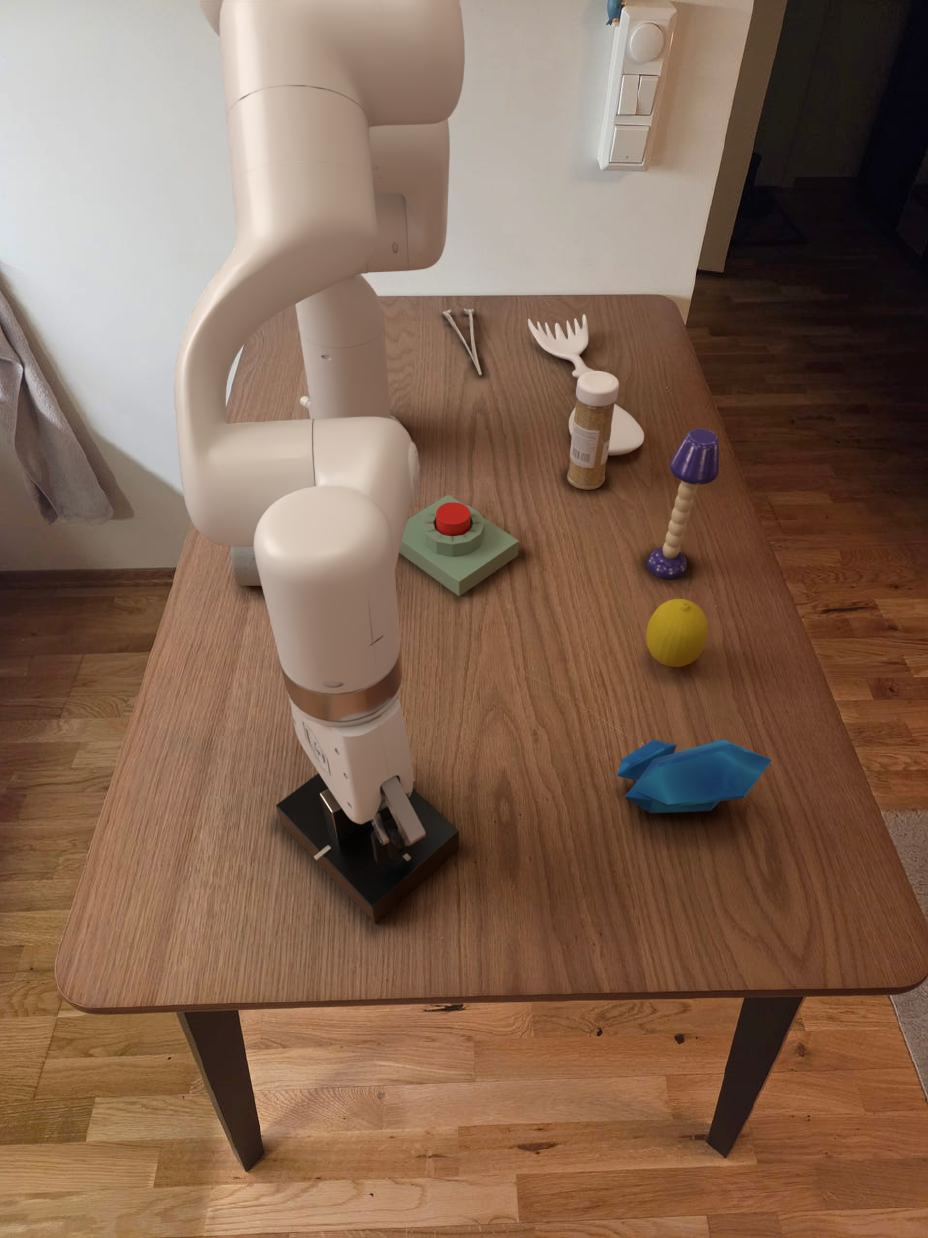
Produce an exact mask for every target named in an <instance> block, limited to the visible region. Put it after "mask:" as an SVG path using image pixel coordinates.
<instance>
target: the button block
mask: <svg viewBox="0 0 928 1238" xmlns="http://www.w3.org/2000/svg"><path fill="white" fill-rule="evenodd" d="M451 502H456V503H461V504H463V505H465V506H466V507H468V509H469V510H470V529H469V530H468V532H466V533H465V534H463V535H459V536H453V537H452V536H447V535H443V534H441V533H440V532H439V531H438V530H437V527H436V511H437V509H438V508H439V507H440V506H441V505H443V504H446V503H451ZM519 545H520V540H519V539H518V538H516V537H514V536H512V535H511V534H510V533H508V532H506V530H504V529H502V528H500V527H499V526H497V525H496V524H494V523H493V522H492V521H490V520H488V519H487V518H485V517H484V516H482V513H481V512H480V511H478V510H477V509H475V508H473V507H472V506H471V505H468V504H464V503H463V502H461V501H460V500H458V499H456V498H454V497H453V496H452V495H450V494H446V495H444V496H443V497H441V498H440V499H438V500H436V501H434V502H433V503H432V504H430V505H428V506H426V507H425V508H424V509H422V510H420V511H418V512H417V513H415V514H414V515H412V516H410V517H408V520H407V524H406V527H405V530H404V534H403V538H402V542H401V546H400V550H399V554H400V555H402V556H403V557H404V558H405V559H407V560H409V561H410V562H411V563H412V564H414V565H415V566H416V567H418V568H419V569H421V570H422V571H423V572H425V573H426V574H428V575H429V576H430V577H432V578H433V579H434V580H436V581H437V582H439V583H440V584H441V585H442V586H443V587H446V588H447V589H448V590H449V591H451V592H452V593H453V594H455V595H456V596H458V597H461V596H462V595H464V594H465V593H467V592H468V591H469V590H471V589H472V588H474V587H475V586H477V585H478V584H479V583H481V582H482V581H484V580H485V579H487V578H488V577H489V576H491V575H492V574H493V573H495V572H496V571H498V570H499V569H501V568H503V566H505V565H506V564H508V563H509V562H511V561H512V560H515V558H517V557H518V556H519Z"/></svg>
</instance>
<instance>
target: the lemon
mask: <svg viewBox="0 0 928 1238" xmlns="http://www.w3.org/2000/svg"><path fill="white" fill-rule="evenodd" d="M708 627H709V626H708V620H707V617H706V614H705V612H704V611H703V610H702V608H701V607H700V606H699V605H698V604H696V603H695V602H693V601H691V600H689V599H685V598H674V599H669V600H667V601H664V602H663V603H661V604H660V605H659V606H658V607H657V608H656V609H655V610H654V612H653V613H652V615H651V616H650V619H649V621H648V623H647V626H646V633H645V640H646V647H647V649H648V651H649V653H650V655H651V656H652V657H653V658H654V660H656V661H657V662H658V663H660V664H662V665H663V666H667V667H669V668H679V667H684V666H685V667H686V666H687V665H690V664H691V663H693V662H694V661H696V660H697V659H698V657H699V656H700V655H701V654H702V652H703V651H704V649H705V647H706V643H707V640H708V635H709V628H708Z"/></svg>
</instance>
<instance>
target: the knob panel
mask: <svg viewBox="0 0 928 1238" xmlns="http://www.w3.org/2000/svg"><path fill="white" fill-rule="evenodd" d="M415 781H416V779H415V777H413V783H414V782H415ZM327 789H329V788H328V786H327V785H326V783H325V782H324V780H323V779H322V777H321V776H320V774H319V773H318V772H317V773H316V774H315V775H314V776H312V777H311V778H310V779H309V780H307V781H305V782H304V783H303V784H302V785H301V786H299V787H298V788H297V789H295V790H294V791H293V792H291V793H290V794H289V795H287V796H286V797H285V798H283V799H282V800H280V801H279V802H278V803H276V805H275V808H276V811H277V815H278V818H279V821H280V824H281V826H282V827H283V828H284V829H285V830H286V831H287V832H288V833H289V834H290V835H291V836H292V838H293V839H295V841H296V842H297V843H298V844H299V845H300V846H301V847H302V848H303V849H304V850H305V851H306V852H307V854H308V855H309V856H310V857H311V858H312V859H313V860H314V861H315V862H316V863H317V864H318V865H319V866H320V867H321V868H322V869H323V871H324V872H326V874H327V875H328V876H329V877H330V878H331V879H332V880H333V881H334V883H336V884H337V886H338V887H339V888H340V889H341V890H342V891H343V892H344V893H345V894H346V895H347V896H348V897H349V898H350V899H351V900H352V901H353V903H355V905H356V906H357V907H358V908H359V909H360V910H361V911H362V912H363V914H364V915H366V916H367V918H368V919H369V920H370V921H371V922H372V923H373V924H374V925H376V924H377V923H378V922H380V921H381V920H382V919H383V918H384V917H385V916H386V915H387V914H388V913H390V912H391V911H392V910H393V909H394V908H395V907H397V905H398V904H399V903H401V902H402V901H403V900H404V899H405V898H406V897H407V896H409V895H410V894H411V893H412V892H413V891H414V890H415V889H416V888H417V887H419V885H421V884H422V883H423V882H424V881H425V880H426V879H427V878H428V877H430V876H431V875H432V874H433V873H434V872H435V871H437V869H439V867H441V866H442V865H443V864H444V863H445V862H447V860H449V859H450V858H451V857H452V856H453V855H454V854H456V852H458V851H459V850H460V830H459V829H458V828H457V827H456V826H455V825H453V824H452V823H451V822H450V821H449V820H448V819H447V818H446V817H445V816H444V815H443V814H442V813H441V812H440V811H439V810H437V809H436V808H435V806H433V805H432V804H431V803H430V802H429V801H427V800H426V798H425V797H423V796H422V795H421V794H420V793H419V792H418V791H417V790H416V789H415V788H413V789H412V793H411V795H410V797H407V798H408V800H409V802H410V803H411V805H412V807H413V809H414V811H415V813H416V815H417V817H418V819H419V821H420V823H421V825H422V826H423V828H424V830H425V833H426V836H425V837H424V838H422V839H420V840H419V841H417V842H415V843H414V844H413V845H412V846H411V847H410V850H409V851H408V852H407V853H406V854H405V855H404V856H402V857H401V858H399V859H397V860H391V859H389V860H388V861H386V862H384V863H383V864H380V865H379V864H378V863H377V862H376V860H375V859H374V852H373V846H372V839H371V834H372V832H373V831H374V828H373V826H372V827H370V828H369V829H367V830H365V831H363V832H362V833H360V834H358V835H356V836H355V837H353V838H351V839H349V840H348V841H346V842H344V843H342V844H341V845H338V844H337V842H336V840H335V839H334V837H333V836H332V834H331V832H330V831H329V829H328V828H327V824H326V819H325V815H324V810H323V806H322V801H321V797H320V793H322V792H323V791H325V790H327ZM391 818H393V816H392V815H391V816H390V817H388V818H386V819H384V820H383V821H382V822H383V823H384V822H386V821H388V820H390V819H391Z"/></svg>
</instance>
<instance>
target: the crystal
mask: <svg viewBox="0 0 928 1238" xmlns="http://www.w3.org/2000/svg"><path fill="white" fill-rule="evenodd" d="M677 746H678V745H677V744H676V743H671V742H666V741H662V740H657V739H651V740H650V741H649V742H647V743H645V744H644V745H641V746H640V747H639V748H637V749H636V750H634V751H632V752H631V753H629V754H628V755H626V756H625V757H623V758H622V759H621V761H620V764H619V768H618V770H617V774H616V777H619V778H624V779H627V780H630V781H635V783H634V784H633V786H631V789H630V790H629V791H628V792H627V793H626V794H625V795H624V797H625V798H626V799H628V800H629V801H631V803H632V802H633V803H634V804H635V805H637V806H638V807H640V808H641V809H643V810H644V811H645V812H647V813H649V814H665V813H666V814H667V813H689V812H690V813H692V812H693V813H694V812H712V811H713V810H714V809H715V807H716V806H718V805H719V803H720V802H724V801H732V800H739V799H745V798H746V796H747V795H748V793H749V792H750V791H751V790H752V788H753V787H754V785H755V784H756V783H757V781H758V780H759V778H760V777H761V776H762V774H763V773H764V772H765V770H766V769H767V768H768V767H769V764H770V763H771V762H772V759H771V758H770V757H766V756H764V755H762V754H760V753H757V752H754V751H752V750H750V749H748V748H745V747H743V746H740V745H738V744H735V743H733V742H731V741H729V740H727V739H724V738H722V739H718V740H715V741H711V742H708V743H704V744H701V745H697V746H694V747H690V748H686V749H683V750H680V751H676V748H677ZM675 751H676V752H675Z"/></svg>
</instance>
